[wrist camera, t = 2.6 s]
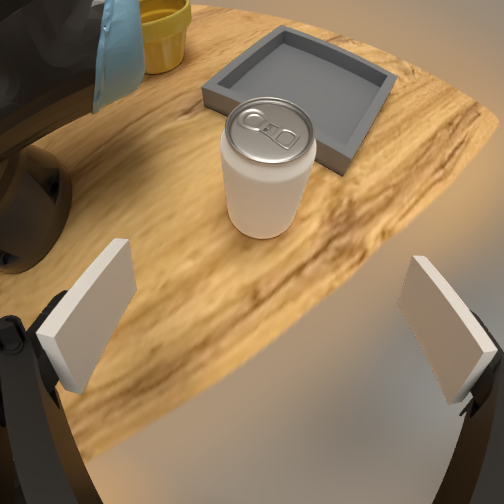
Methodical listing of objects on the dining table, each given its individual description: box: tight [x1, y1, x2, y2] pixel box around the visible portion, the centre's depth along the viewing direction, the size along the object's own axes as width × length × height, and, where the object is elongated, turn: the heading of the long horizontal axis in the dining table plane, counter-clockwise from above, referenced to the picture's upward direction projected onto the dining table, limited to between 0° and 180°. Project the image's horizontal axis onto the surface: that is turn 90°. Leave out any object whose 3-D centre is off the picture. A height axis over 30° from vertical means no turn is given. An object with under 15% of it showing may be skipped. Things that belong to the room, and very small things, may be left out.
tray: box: [202, 25, 398, 177], centre depth 33 cm, size 18×18×3 cm
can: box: [220, 97, 316, 239], centre depth 24 cm, size 6×6×12 cm
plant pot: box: [139, 0, 191, 74], centre depth 32 cm, size 10×10×10 cm
